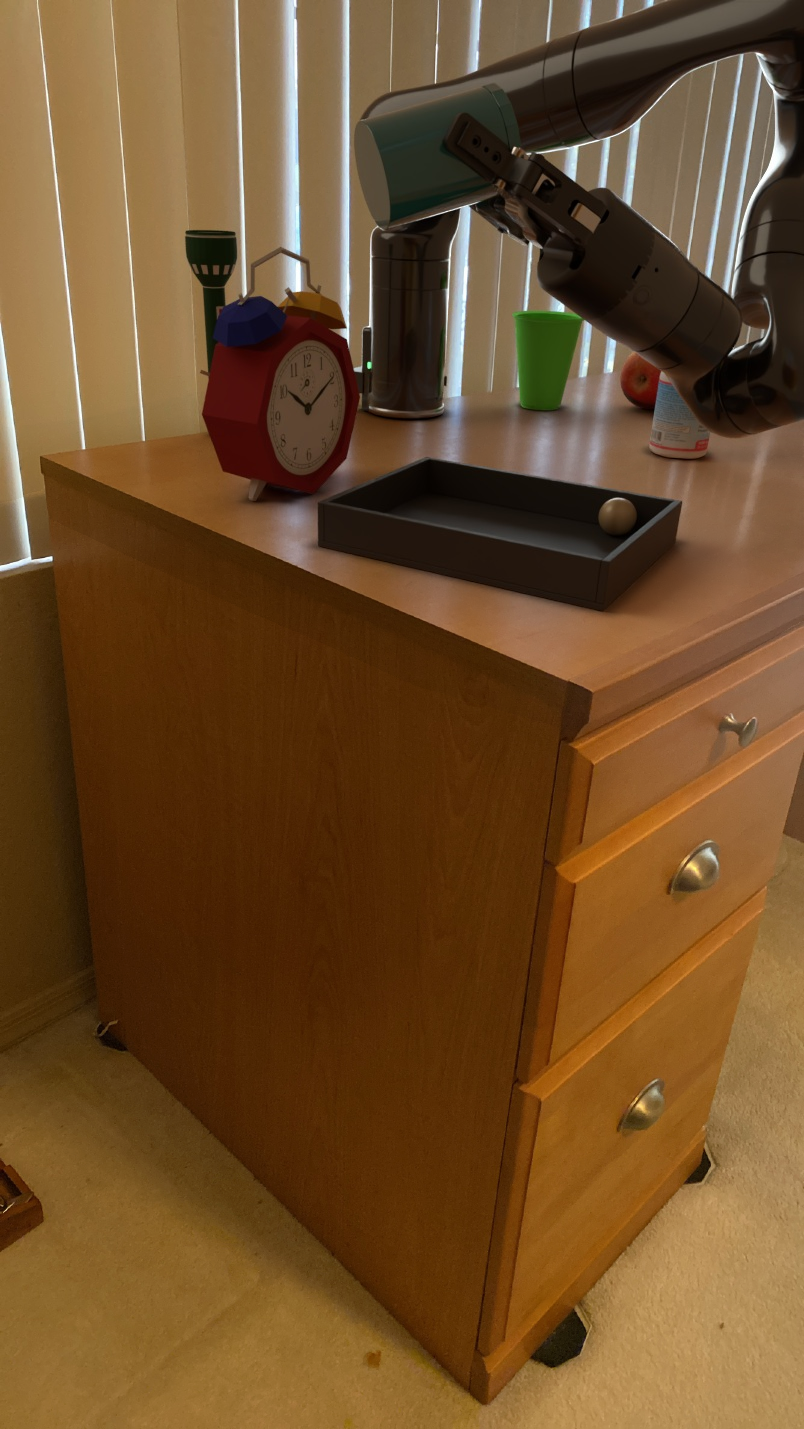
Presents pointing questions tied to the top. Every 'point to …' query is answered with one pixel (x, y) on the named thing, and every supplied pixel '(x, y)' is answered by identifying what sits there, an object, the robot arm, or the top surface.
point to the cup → (544, 355)
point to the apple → (640, 381)
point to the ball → (617, 516)
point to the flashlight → (211, 273)
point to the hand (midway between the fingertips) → (433, 129)
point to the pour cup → (426, 156)
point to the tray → (500, 529)
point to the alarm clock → (281, 388)
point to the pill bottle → (676, 426)
